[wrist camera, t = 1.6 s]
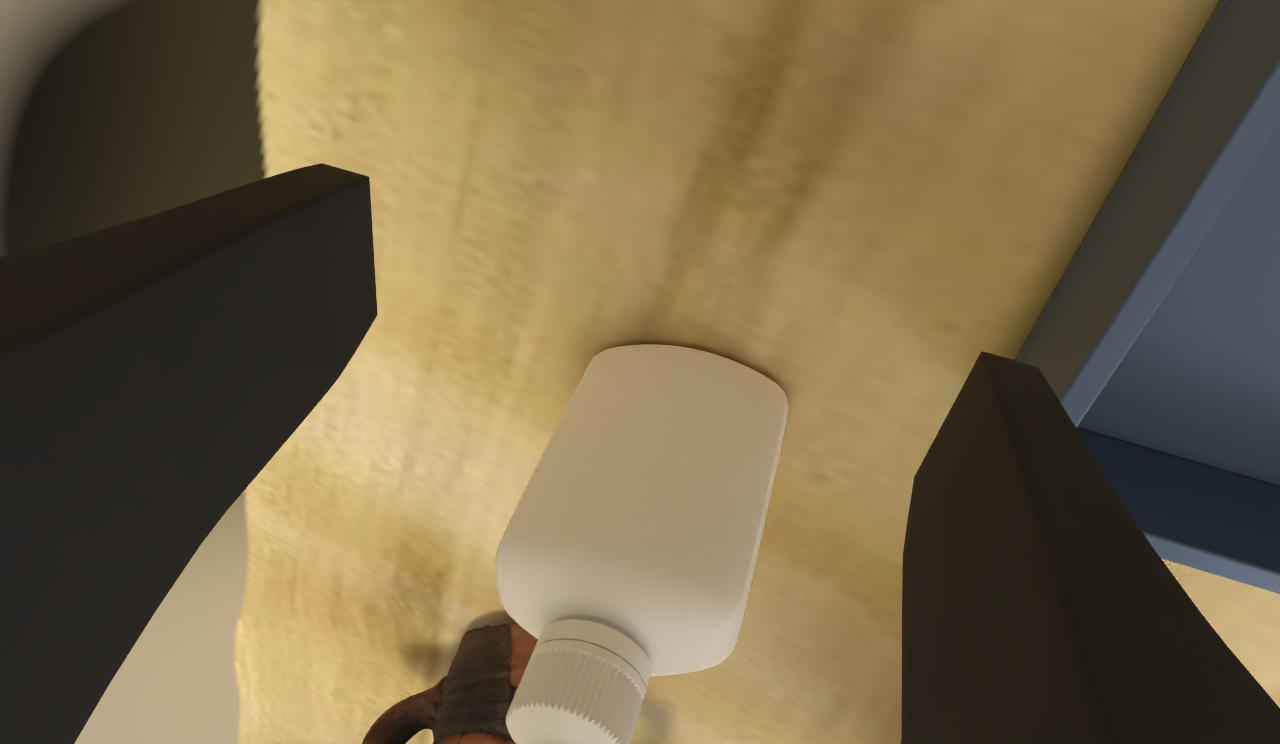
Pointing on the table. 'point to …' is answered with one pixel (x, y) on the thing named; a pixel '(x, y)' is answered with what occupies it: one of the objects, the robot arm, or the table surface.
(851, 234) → the table surface
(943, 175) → the table surface
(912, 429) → the table surface
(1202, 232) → the tray
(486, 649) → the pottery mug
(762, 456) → the eye dropper bottle
